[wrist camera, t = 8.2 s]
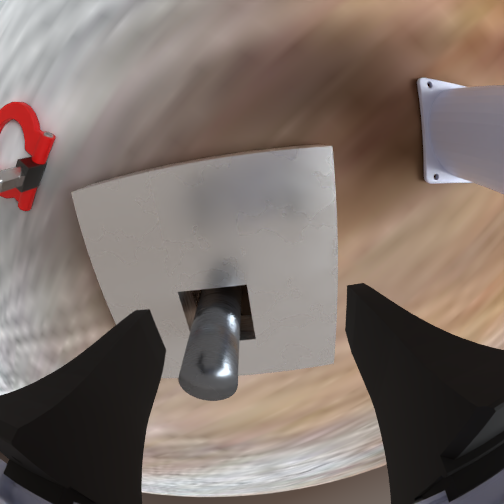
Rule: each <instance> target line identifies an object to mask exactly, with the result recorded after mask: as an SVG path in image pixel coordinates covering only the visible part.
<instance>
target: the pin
mask: <svg viewBox="0 0 504 504" xmlns="http://www.w3.org/2000/svg"><path fill="white" fill-rule="evenodd" d="M241 298H242V290H241V287H240V285H238V286H229V287H220V288H211V289H202V291H201V295H200V298H199V302H198V305H197V309H196V313H195V316H194V320H193V323H192V327H191V331H190V335H189V338H188V342H187V346H186V350H185V354H184V357H183V361H182V365H181V369H180V373H179V378H178V379H179V384H180V386H181V387H182V388H183V390H184V391H186V392H187V393H188V394H190V395H192V396H194V397H196V398H199V399H202V400H209V401H217V400H223V399H226V398H228V397H230V396H232V395H233V394H234V393H235V392H236V390H237V386H238V364H239V341H240V319H241Z"/></svg>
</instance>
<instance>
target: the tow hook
mask: <svg viewBox="0 0 504 504" xmlns="http://www.w3.org/2000/svg"><path fill="white" fill-rule="evenodd" d="M13 119H14V120H16V121H17V122H19V124H20V125H21V127H22V130H23V133H24V139H25V150H26V151H27V152H28V153H29V154H30V155H31V156H32V157H28V158H23V159H18V161H17V164H16V167H14V168H10V169H5V170H1V171H0V196H2V197H4V198H15V199H16V200H17V201H18V207H19V208H20V209H21V210H23V211H29V210H30V209H31V207H32V203H33V200H34V197H35V193H36V190H37V187H38V186H39V184H40V181H41V178H42V175H43V172H44V169H45V167H46V161H47V158H48V155H49V153H50V150H51V148H52V145H53V143H54V140H55V138H56V137H55V135H53V134H52V133H49V132H43V131H41V130H40V125H39V121H38V119H37V116H36V113H35V112H34V111H33V109H32V108H31V106H29V105H28V104H26V103H24V102H11V103H9V104H7V105H5V106H4V107H3V108H2V109H0V133H1V130H2V129H3V127H4V126H5V124H6V123H8V122H9V121H10V120H13Z"/></svg>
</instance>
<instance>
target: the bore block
mask: <svg viewBox="0 0 504 504" xmlns="http://www.w3.org/2000/svg"><path fill="white" fill-rule="evenodd" d="M71 194H72V199H73V203H74V207H75V210H76V214H77V218H78V221H79V225H80V228H81V232H82V235H83V239H84V242H85V245H86V248H87V251H88V254H89V257H90V260H91V263H92V266H93V269H94V271H95V274H96V277H97V280H98V282H99V285H100V288H101V290H102V293H103V295H104V298H105V300H106V303H107V305H108V307H109V310H110V312H111V314H112V317H113V319H114V321H115V323H116V325H117V324H118V323H119V322H120V321H122V320H123V319H124V318H125V317H127V316H128V315H129V314H131V313H132V312H134V311H135V310H145V309H150V311H151V314H152V316H153V319H154V322H155V324H156V326H157V329H158V331H159V334H160V336H161V339H162V341H163V343H164V346H165V348H166V355H165V362H164V367H163V373H162V376H161V378H179V373H180V369H181V365H182V361H183V357H184V354H185V350H186V346H187V342H188V338H189V335H190V331H191V327H192V323H193V320H194V316H195V313H196V309H197V308H196V304H195V301H194V297H193V293H192V290H201V289H211V288H220V287H229V286H238V285H247V289H248V295H249V301H250V307H251V313H252V315H245V316H241V319H240V341H239V364H238V376H239V375H252V374H262V373H272V372H280V371H288V370H296V369H303V368H310V367H316V366H322V365H328V364H334V354H335V339H336V319H337V287H338V240H337V208H336V188H335V173H334V160H333V148H332V146H328V145H322V144H315V145H301V146H290V147H280V148H270V149H262V150H254V151H246V152H239V153H232V154H225V155H219V156H213V157H207V158H201V159H195V160H190V161H185V162H179V163H174V164H169V165H165V166H160V167H155V168H151V169H147V170H142V171H138V172H134V173H130V174H126V175H122V176H118V177H114V178H110V179H107V180H103V181H100V182H96V183H93V184H90V185H88V186H85V187H83V188H80V189H78V190H76V191H73V192H71Z"/></svg>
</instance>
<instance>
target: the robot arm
mask: <svg viewBox="0 0 504 504" xmlns="http://www.w3.org/2000/svg"><path fill="white" fill-rule="evenodd" d="M427 83H429V85H430V88H429V87H428V85H427ZM417 86H418V94H419V102H420V111H421V121H422V134H423V155H424V179H425V181H426V182H428V183H476V184H478V185H481V186H484V187H487V188H489V189H492V190H494V191H497V192H499V193H502V194H504V85H496V86H476V87H466V86H462V85H458V84H453V83H449V82H444V81H439V80H434V79H429V78H419V79H418V80H417ZM435 174H436V178H435V179H434V175H435ZM345 331H346V334H347V338H348V342H349V345H350V349H351V352H352V355H353V357H354V359H355V362H356V364H357V366H358V369H359V371H360V374H361V376H362V378H363V381H364V383H365V385H366V388H367V390H368V392H369V395H370V397H371V400H372V403H373V405H374V408H375V412H376V416H377V419H378V423H379V427H380V431H381V436H382V441H383V445H384V450H385V456H386V462H387V468H388V474H389V483H390V493H391V504H504V350H501V349H496V348H492V347H488V346H484V345H481V344H478V343H475V342H472V341H469V340H466V339H463V338H460V337H458V336H455V335H453V334H451V333H448V332H446V331H444V330H442V329H440V328H437V327H435V326H433V325H431V324H429V323H427V322H426V321H424V320H422V319H420V318H418V317H417V316H415V315H413V314H411V313H410V312H408V311H406V310H405V309H403V308H402V307H400V306H398V305H397V304H395V303H394V302H392V301H391V300H389V299H388V298H386V297H385V296H383V295H382V294H380V293H379V292H377V291H376V290H374V289H372V288H371V287H369V286H368V285H366V284H364V283H360V284H354V285H348V286H347V309H346V328H345ZM165 355H166V348H165V346H164V343H163V341H162V339H161V336H160V334H159V331H158V329H157V326H156V324H155V322H154V319H153V316H152V314H151V311H150V309H145V310H135V311H134V312H132V313H131V314H129V315H128V316H127V317H125V318H124V319H123V320H122V321H120V322H119V323H118V324H117V325H116V326H114V327H113V328H112V329H111V330H110V331H108V332H107V333H106V334H105V335H104V336H102V337H101V338H100V339H99V340H98V341H96V342H95V343H94V344H93V345H91V346H90V347H89V348H87V349H86V350H85V351H84V352H82V353H81V354H80V355H79V356H77V357H76V358H74V359H73V360H72V361H70V362H69V363H67V364H66V365H64V366H63V367H61V368H59V369H58V370H56V371H55V372H53V373H51V374H49V375H47V376H46V377H44V378H42V379H40V380H38V381H36V382H34V383H32V384H30V385H28V386H25V387H23V388H21V389H18V390H16V391H13V392H10V393H7V394H4V395H1V396H0V451H1V452H2V453H3V454H4V455H5V456H6V457H7V458H8V459H9V461H8V463H7V464H6V463H5V462H3V461H2V460H1V459H0V504H142V494H141V481H142V460H143V449H144V442H145V435H146V428H147V424H148V420H149V416H150V413H151V409H152V406H153V403H154V399H155V396H156V393H157V390H158V386H159V383H160V380H161V376H162V373H163V367H164V362H165Z"/></svg>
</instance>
